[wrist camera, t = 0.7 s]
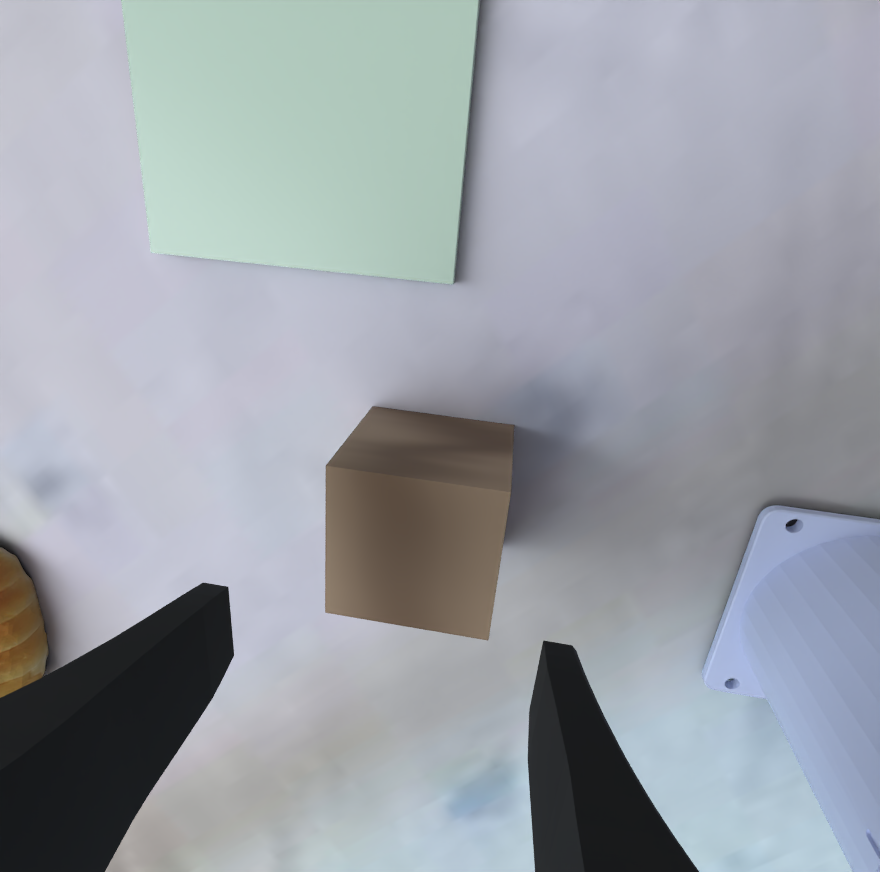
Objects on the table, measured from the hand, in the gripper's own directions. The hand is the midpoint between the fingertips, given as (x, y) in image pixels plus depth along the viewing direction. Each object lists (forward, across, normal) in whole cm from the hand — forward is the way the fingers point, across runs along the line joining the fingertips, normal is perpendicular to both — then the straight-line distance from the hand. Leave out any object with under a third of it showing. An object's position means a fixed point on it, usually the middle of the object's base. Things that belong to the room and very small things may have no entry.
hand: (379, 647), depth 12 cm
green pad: (+8, +5, -12) cm, 15 cm away
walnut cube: (+8, 0, 0) cm, 8 cm away
